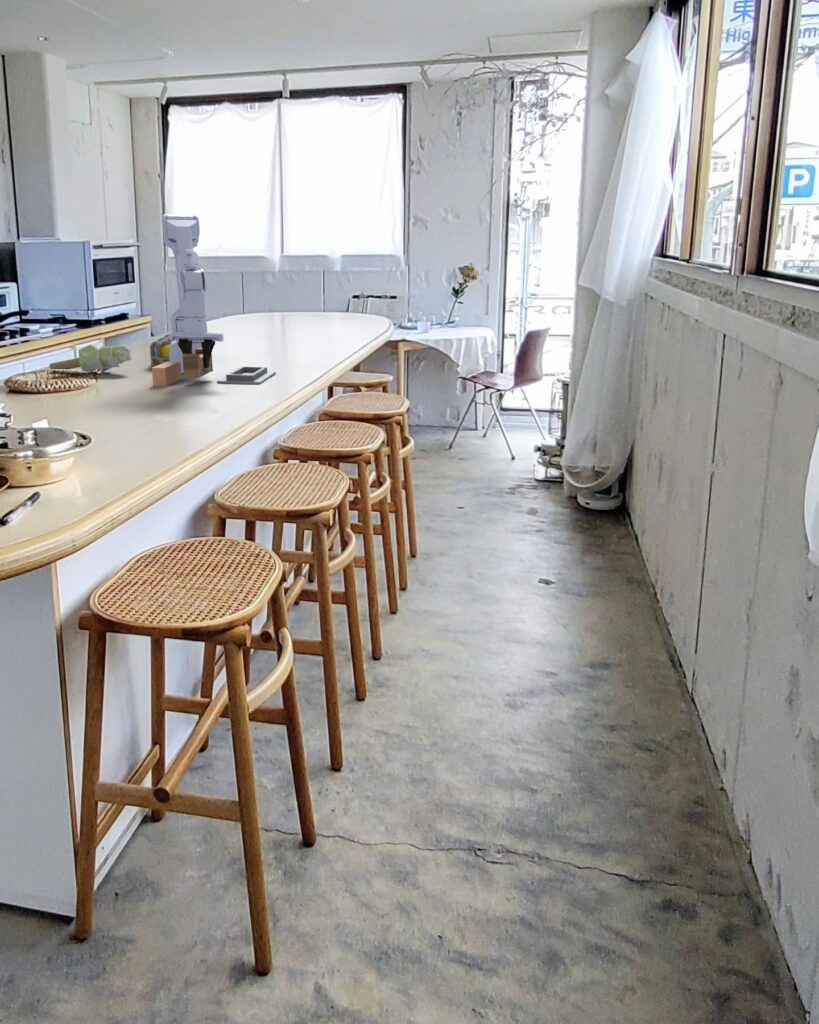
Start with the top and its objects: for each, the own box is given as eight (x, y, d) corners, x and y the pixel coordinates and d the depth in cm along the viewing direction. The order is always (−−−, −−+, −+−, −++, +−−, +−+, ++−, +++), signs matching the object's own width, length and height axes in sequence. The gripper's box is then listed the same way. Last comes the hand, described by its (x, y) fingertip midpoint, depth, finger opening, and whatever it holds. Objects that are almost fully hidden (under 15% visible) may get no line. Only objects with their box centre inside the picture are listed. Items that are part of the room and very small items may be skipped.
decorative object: (41, 372, 240) (121, 357, 236) (45, 345, 244) (124, 329, 240) (59, 389, 248) (137, 374, 244) (63, 362, 252) (139, 347, 248)
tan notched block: (198, 378, 224) (197, 354, 222) (184, 377, 225) (182, 354, 223) (212, 370, 236) (211, 348, 234) (199, 370, 236) (197, 348, 234)
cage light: (143, 343, 248) (166, 331, 277) (146, 370, 251) (168, 356, 279) (193, 343, 249) (211, 332, 277) (195, 370, 252) (212, 356, 280)
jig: (217, 383, 230) (216, 375, 230) (236, 372, 247) (235, 365, 247) (259, 384, 229) (259, 376, 229) (275, 373, 246) (275, 366, 246)
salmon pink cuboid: (166, 386, 226) (164, 368, 224) (153, 386, 226) (151, 367, 225) (181, 379, 237) (180, 361, 236) (169, 378, 237) (168, 361, 236)
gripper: (163, 317, 222) (167, 368, 226) (216, 318, 221) (219, 370, 225) (172, 315, 229) (176, 364, 233) (224, 316, 227) (227, 366, 232)
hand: (198, 367), depth 229 cm, fingers closed on tan notched block, 4 cm apart
